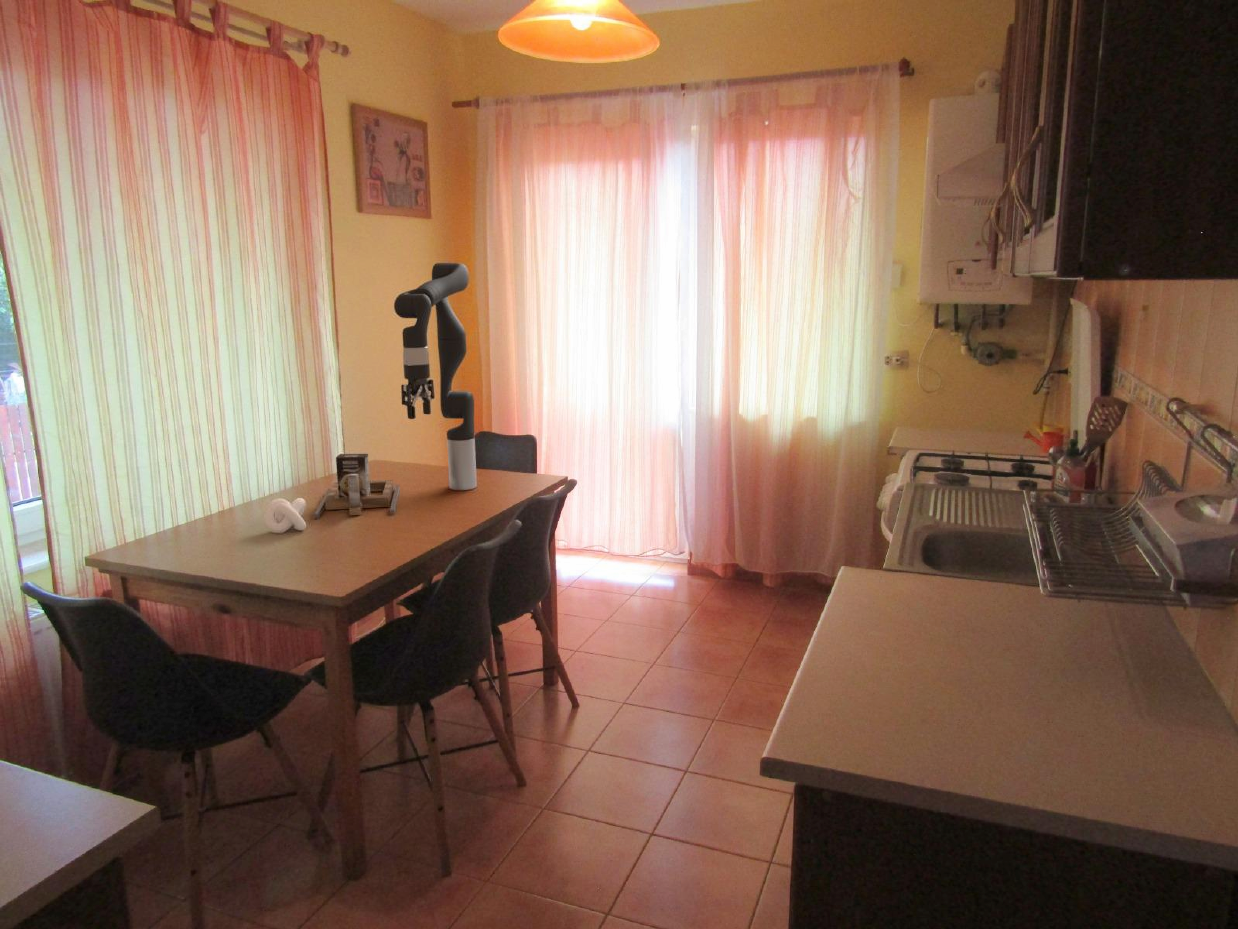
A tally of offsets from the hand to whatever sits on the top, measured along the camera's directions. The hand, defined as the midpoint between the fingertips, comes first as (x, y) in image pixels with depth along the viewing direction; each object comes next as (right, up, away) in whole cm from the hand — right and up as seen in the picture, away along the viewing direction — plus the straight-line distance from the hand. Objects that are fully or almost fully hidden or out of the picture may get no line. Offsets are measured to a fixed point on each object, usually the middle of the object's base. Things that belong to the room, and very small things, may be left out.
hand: (419, 416), depth 259 cm
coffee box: (-25, -27, +17) cm, 41 cm away
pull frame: (-24, -27, +19) cm, 40 cm away
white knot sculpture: (-36, -34, -10) cm, 50 cm away
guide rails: (-23, -27, +18) cm, 40 cm away
